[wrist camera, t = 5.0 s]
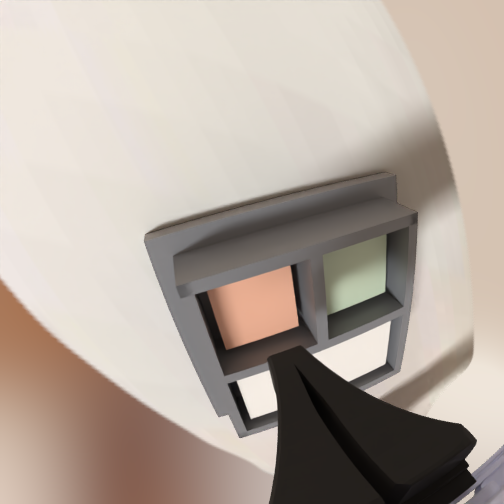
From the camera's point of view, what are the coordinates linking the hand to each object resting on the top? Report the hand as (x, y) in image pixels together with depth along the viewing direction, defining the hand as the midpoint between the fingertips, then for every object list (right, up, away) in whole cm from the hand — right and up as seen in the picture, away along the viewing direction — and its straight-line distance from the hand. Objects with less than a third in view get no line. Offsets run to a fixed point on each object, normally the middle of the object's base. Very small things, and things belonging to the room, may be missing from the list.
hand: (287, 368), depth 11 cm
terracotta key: (-2, +2, +5) cm, 6 cm away
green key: (+4, +4, +6) cm, 8 cm away
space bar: (+2, -2, +7) cm, 8 cm away
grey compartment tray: (+1, +1, +8) cm, 8 cm away
